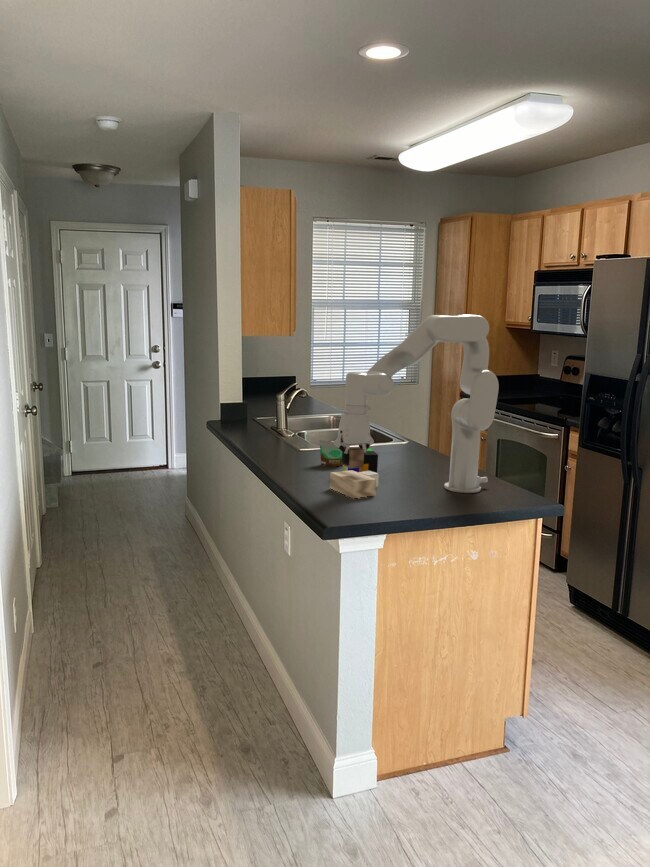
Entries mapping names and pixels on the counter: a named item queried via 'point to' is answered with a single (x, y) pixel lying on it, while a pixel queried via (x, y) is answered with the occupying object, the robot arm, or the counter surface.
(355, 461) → the walnut block
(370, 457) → the puzzle toy
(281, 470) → the counter surface
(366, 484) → the maple block
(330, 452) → the food container
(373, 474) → the offwhite cube
